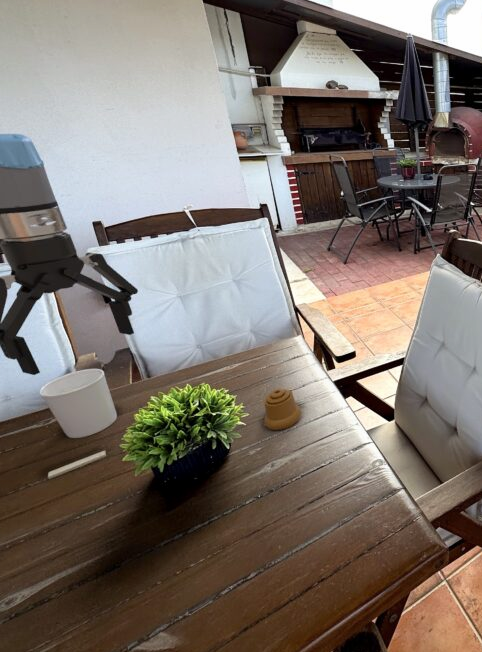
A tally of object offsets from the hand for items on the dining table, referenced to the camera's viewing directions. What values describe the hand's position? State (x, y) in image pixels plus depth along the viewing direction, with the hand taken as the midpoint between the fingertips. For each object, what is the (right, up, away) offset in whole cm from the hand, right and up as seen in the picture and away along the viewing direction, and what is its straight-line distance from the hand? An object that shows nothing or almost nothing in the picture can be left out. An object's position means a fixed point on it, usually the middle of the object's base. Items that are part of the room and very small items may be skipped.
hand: (83, 351), depth 71 cm
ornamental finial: (+23, -21, +22) cm, 38 cm away
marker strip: (-11, -25, +10) cm, 29 cm away
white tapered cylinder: (-20, -21, +20) cm, 35 cm away
